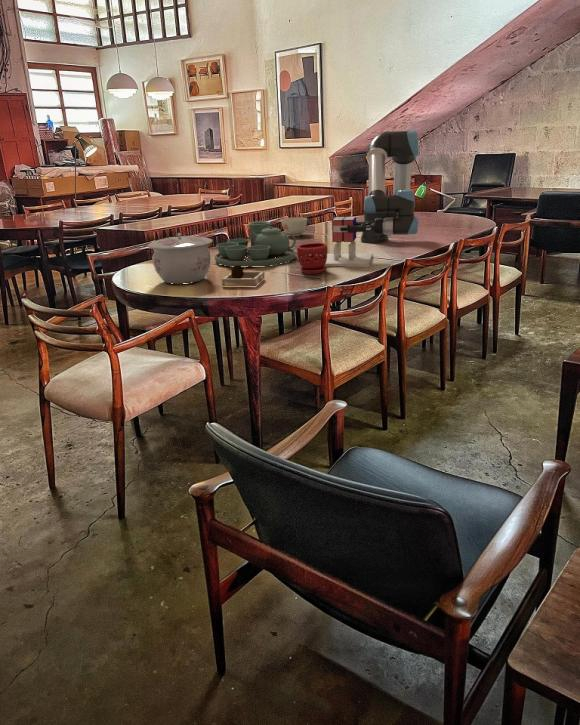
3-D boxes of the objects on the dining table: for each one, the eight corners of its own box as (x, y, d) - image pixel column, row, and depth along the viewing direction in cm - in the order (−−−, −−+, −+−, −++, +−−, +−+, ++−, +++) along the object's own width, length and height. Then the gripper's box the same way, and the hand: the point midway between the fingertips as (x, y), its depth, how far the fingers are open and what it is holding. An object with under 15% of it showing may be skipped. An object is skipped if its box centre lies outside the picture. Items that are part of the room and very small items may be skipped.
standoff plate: (324, 256, 288) (323, 239, 285) (372, 256, 282) (372, 238, 279) (315, 266, 266) (314, 248, 263) (367, 266, 261) (367, 247, 258)
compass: (244, 285, 239) (242, 268, 236) (231, 283, 244) (229, 266, 241) (258, 281, 244) (257, 264, 241) (245, 279, 249) (244, 262, 246)
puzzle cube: (354, 242, 265) (353, 219, 261) (332, 242, 267) (331, 220, 264) (356, 238, 274) (356, 216, 270) (335, 238, 276) (335, 217, 273)
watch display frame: (233, 279, 249) (232, 271, 248) (264, 279, 246) (264, 271, 245) (222, 287, 237) (221, 279, 235) (255, 287, 234) (254, 279, 232)
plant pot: (322, 267, 263) (322, 241, 259) (331, 273, 251) (330, 245, 247) (294, 270, 260) (293, 243, 256) (302, 276, 248) (301, 248, 244)
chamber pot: (180, 292, 233) (173, 240, 226) (139, 284, 250) (132, 235, 243) (230, 278, 253) (226, 229, 245) (189, 271, 270) (184, 226, 262)
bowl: (278, 235, 357) (277, 218, 354) (303, 233, 361) (302, 216, 358) (286, 239, 343) (285, 221, 339) (311, 236, 347) (311, 219, 344)
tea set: (206, 258, 299) (203, 226, 293) (279, 250, 312) (277, 218, 306) (228, 273, 264) (225, 236, 258) (309, 262, 278) (307, 227, 272)
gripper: (381, 238, 255) (331, 239, 260) (385, 230, 276) (338, 231, 281) (381, 221, 253) (331, 222, 258) (385, 214, 273) (338, 215, 278)
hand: (335, 227), depth 269 cm, fingers closed on puzzle cube, 10 cm apart
